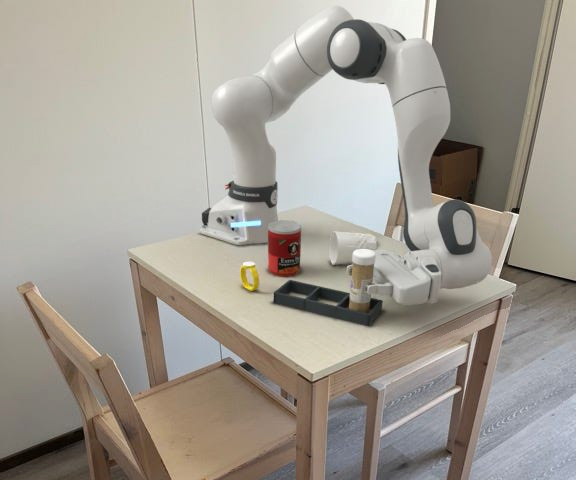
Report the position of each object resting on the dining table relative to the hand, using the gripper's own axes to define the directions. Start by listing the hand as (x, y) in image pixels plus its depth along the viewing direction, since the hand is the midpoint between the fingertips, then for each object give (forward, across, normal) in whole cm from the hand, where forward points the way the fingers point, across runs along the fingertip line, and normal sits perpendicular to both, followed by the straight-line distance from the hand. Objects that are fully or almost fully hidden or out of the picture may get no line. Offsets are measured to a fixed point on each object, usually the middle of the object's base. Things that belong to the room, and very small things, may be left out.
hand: (357, 279), depth 121 cm
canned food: (+7, -26, +8) cm, 28 cm away
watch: (+18, -18, +8) cm, 27 cm away
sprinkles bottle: (-1, 0, +8) cm, 8 cm away
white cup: (-16, -26, +4) cm, 30 cm away
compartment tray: (+4, -5, +8) cm, 10 cm away
